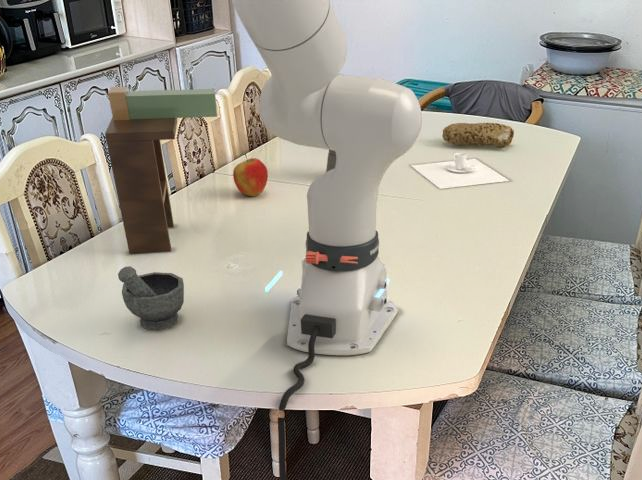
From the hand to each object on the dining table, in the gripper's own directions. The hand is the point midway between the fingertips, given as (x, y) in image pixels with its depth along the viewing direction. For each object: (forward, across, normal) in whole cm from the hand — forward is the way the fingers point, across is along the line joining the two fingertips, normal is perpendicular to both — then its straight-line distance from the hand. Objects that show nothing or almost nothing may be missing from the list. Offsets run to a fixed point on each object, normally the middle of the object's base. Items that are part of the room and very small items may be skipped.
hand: (310, 39), depth 132 cm
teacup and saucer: (+37, -33, +43) cm, 66 cm away
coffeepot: (+38, -35, +13) cm, 53 cm away
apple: (+38, -26, -12) cm, 48 cm away
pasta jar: (+15, -6, -28) cm, 33 cm away
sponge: (+36, -57, +56) cm, 88 cm away
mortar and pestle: (+40, +34, -31) cm, 61 cm away
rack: (+39, -2, -31) cm, 50 cm away
